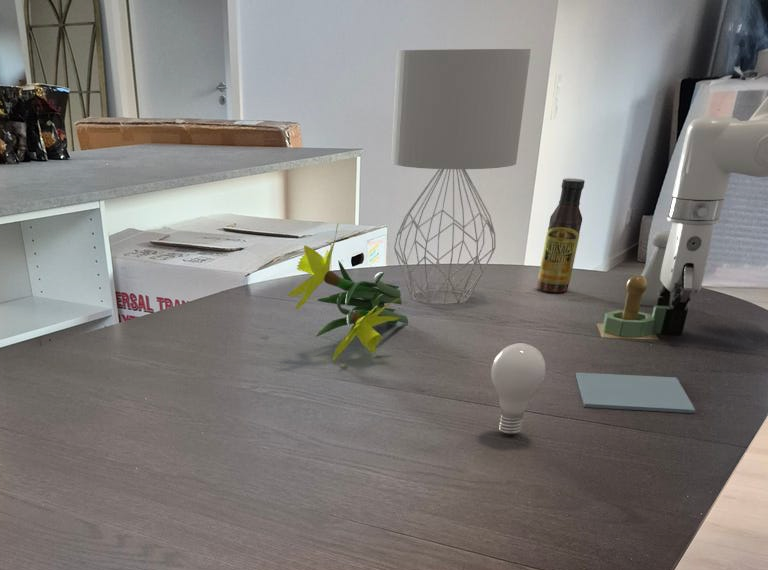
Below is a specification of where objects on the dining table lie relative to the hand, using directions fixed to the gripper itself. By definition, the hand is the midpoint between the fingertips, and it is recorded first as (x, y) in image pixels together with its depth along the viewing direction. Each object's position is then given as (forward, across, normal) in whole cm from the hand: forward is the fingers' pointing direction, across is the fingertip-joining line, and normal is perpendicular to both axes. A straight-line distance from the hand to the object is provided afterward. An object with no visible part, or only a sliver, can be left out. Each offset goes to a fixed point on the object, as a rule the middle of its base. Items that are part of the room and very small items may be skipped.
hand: (666, 328), depth 141 cm
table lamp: (+2, +23, +38) cm, 45 cm away
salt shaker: (+2, +21, -1) cm, 21 cm away
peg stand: (+2, 0, +6) cm, 6 cm away
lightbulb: (+2, -50, +26) cm, 56 cm away
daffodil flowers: (+2, -12, +50) cm, 52 cm away
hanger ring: (+1, 0, +4) cm, 4 cm away
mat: (+2, -31, +9) cm, 32 cm away
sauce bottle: (+2, +33, +16) cm, 37 cm away
